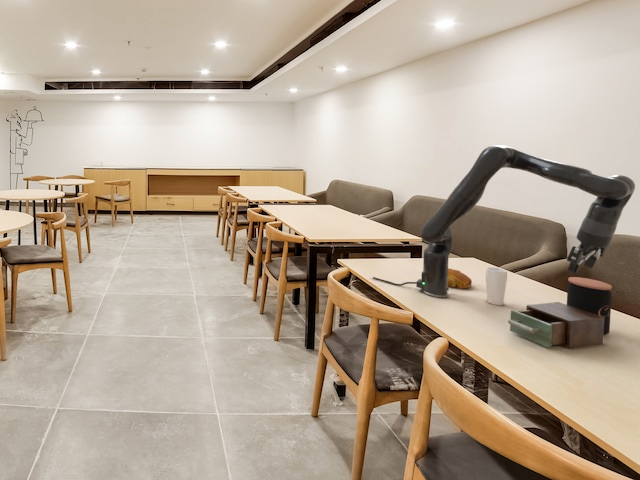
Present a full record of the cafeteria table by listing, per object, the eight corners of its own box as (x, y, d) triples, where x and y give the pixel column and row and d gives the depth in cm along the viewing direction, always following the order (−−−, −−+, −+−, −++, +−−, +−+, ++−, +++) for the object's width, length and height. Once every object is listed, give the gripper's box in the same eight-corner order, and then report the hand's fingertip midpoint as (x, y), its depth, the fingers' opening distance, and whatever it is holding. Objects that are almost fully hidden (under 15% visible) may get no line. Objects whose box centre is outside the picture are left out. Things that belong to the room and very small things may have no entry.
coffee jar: (604, 339, 129) (607, 289, 128) (561, 325, 138) (563, 279, 138) (613, 332, 134) (616, 284, 133) (571, 319, 143) (573, 275, 142)
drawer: (538, 349, 120) (540, 326, 120) (500, 331, 131) (501, 310, 131) (580, 343, 124) (582, 321, 124) (540, 327, 135) (541, 306, 135)
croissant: (428, 285, 184) (427, 270, 183) (445, 276, 190) (444, 262, 189) (461, 295, 170) (460, 279, 170) (479, 285, 177) (478, 270, 176)
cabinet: (569, 348, 122) (570, 321, 122) (525, 330, 135) (526, 305, 134) (603, 344, 125) (604, 317, 125) (556, 326, 138) (558, 301, 137)
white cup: (509, 307, 154) (511, 272, 154) (491, 305, 155) (493, 271, 155) (498, 300, 161) (499, 267, 160) (480, 299, 162) (482, 266, 162)
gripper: (596, 221, 130) (580, 259, 135) (568, 228, 127) (553, 267, 132) (626, 232, 123) (608, 271, 129) (597, 239, 120) (580, 279, 125)
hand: (580, 269), depth 130 cm, fingers open, 8 cm apart
